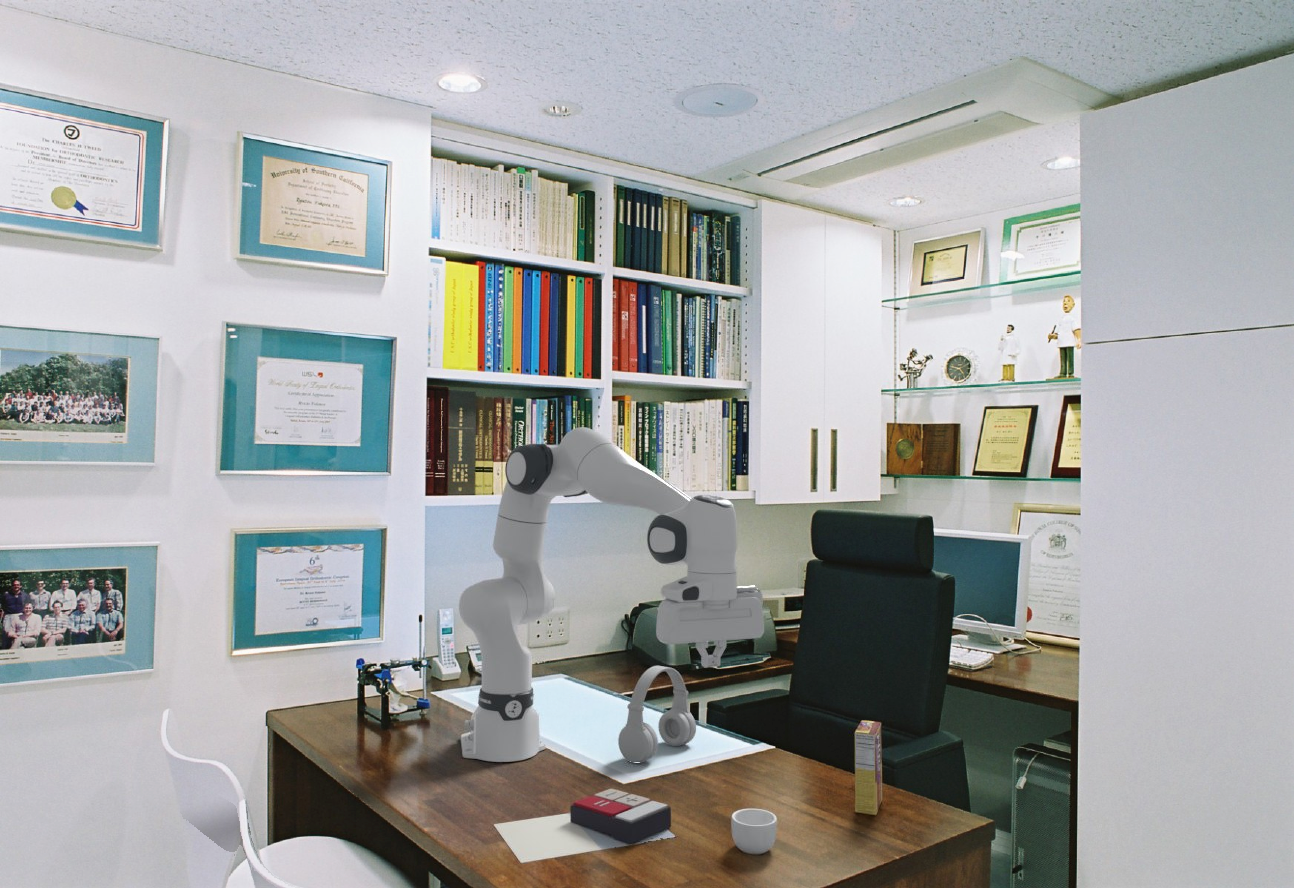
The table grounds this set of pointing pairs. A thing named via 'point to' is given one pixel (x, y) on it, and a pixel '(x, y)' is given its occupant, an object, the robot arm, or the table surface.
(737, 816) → the teacup
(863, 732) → the candy box
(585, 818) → the calculator
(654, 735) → the headphones
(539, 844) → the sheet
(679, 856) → the table surface
